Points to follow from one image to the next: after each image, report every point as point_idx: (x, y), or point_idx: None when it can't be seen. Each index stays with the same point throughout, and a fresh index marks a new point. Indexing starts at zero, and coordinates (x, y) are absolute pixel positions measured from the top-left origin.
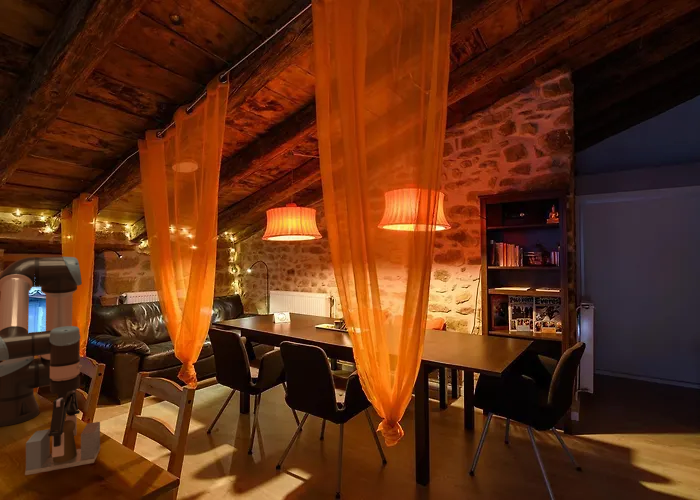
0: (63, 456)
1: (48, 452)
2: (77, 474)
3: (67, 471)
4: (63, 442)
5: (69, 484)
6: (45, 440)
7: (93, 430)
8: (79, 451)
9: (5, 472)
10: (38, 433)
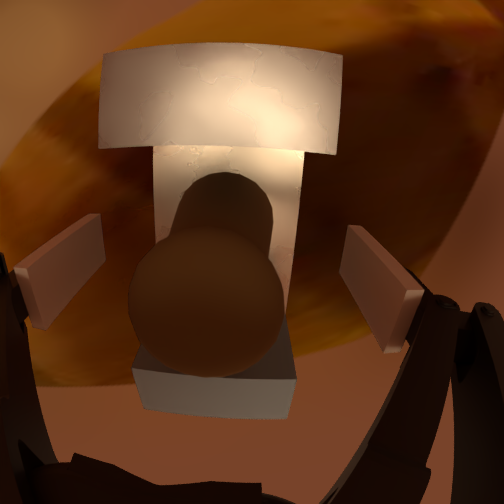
0: (271, 226)
1: None
2: (380, 147)
3: (333, 187)
4: (390, 256)
5: (435, 169)
6: None
7: (299, 62)
8: (185, 167)
9: None
10: (177, 401)
